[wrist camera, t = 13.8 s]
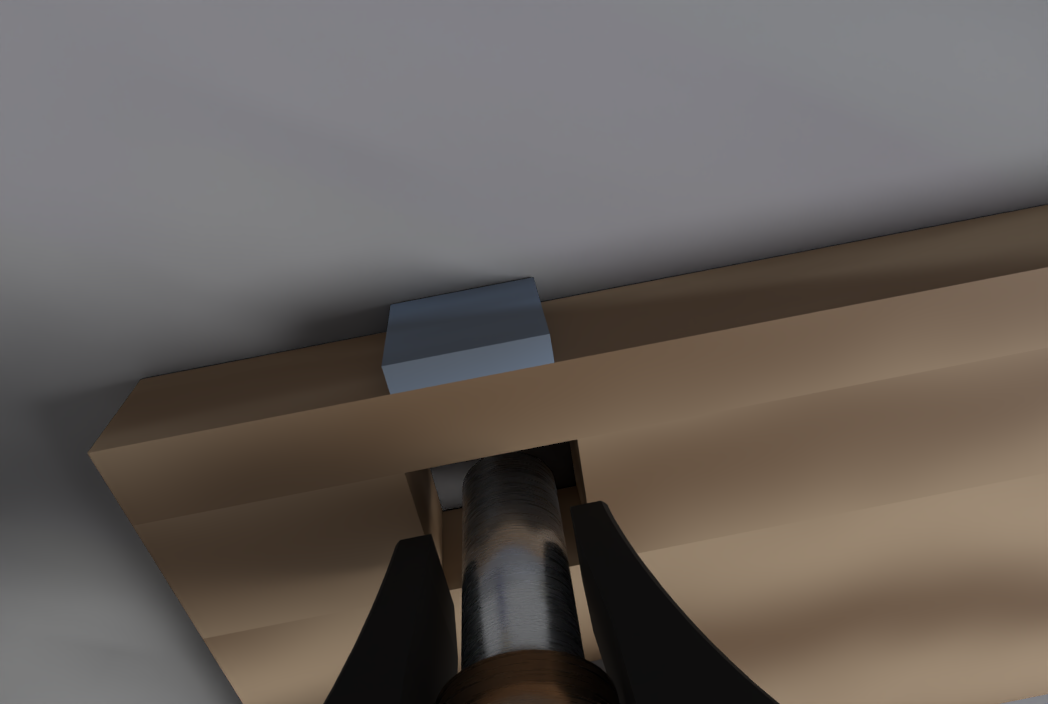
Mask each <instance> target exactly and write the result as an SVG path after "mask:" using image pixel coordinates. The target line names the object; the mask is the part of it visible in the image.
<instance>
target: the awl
mask: <svg viewBox="0 0 1048 704" xmlns="http://www.w3.org/2000/svg"><path fill="white" fill-rule="evenodd" d="M435 704H620V703H619V698H618V694H617V690H616V687H615V685H614V683H613V681H612V679H611V678H610V677H609V676H608V674H607V673H606V672H605V671H603V670H602V669H601V668H600V667H598V666H597V665H595V664H594V663H592V662H590V661H588V660H586V659H585V656H584V650H583V644H582V638H581V633H580V627H579V621H578V615H577V609H576V603H575V597H574V591H573V585H572V579H571V573H570V567H569V561H568V555H567V549H566V543H565V537H564V531H563V526H562V520H561V514H560V508H559V502H558V496H557V490H556V484H555V479H554V476H553V473H552V471H551V470H550V468H549V467H548V466H547V465H546V464H545V463H544V462H543V461H541V460H540V459H538V458H537V457H534V456H532V455H529V454H526V453H521V452H509V453H504V454H499V455H494V456H488V457H486V458H484V459H482V460H480V461H479V462H477V463H476V464H475V465H474V466H473V467H472V468H471V469H470V470H469V472H468V473H467V475H466V477H465V479H464V482H463V501H462V618H461V671H460V672H459V673H457V674H456V675H455V676H454V677H453V678H451V679H450V680H449V681H448V682H447V683H446V685H445V686H444V687H443V688H442V690H441V691H440V693H439V695H438V697H437V699H436V702H435Z"/></svg>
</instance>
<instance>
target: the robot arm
mask: <svg viewBox="0 0 1048 704" xmlns="http://www.w3.org/2000/svg"><path fill="white" fill-rule="evenodd" d="M570 512H571V518H572V524H573V530H574V535H575V541H576V547H577V553H578V559H579V565H580V571H581V576H582V582H583V587H584V591H585V596H586V600H587V605H588V610H589V614H590V619H591V623H592V628H593V632H594V635H595V639H596V642H597V645H598V648H599V651H600V654H601V658H602V661H603V664H604V667H605V670H606V673H607V674H608V676H609V677H610V678H611V679H612V681H613V683H614V685H615V687H616V690H617V694H618V698H619V703H620V704H780V703H778V702H777V701H776V700H775V699H774V698H772V697H771V696H770V695H769V694H768V693H766V692H765V691H764V690H763V689H762V688H760V687H759V686H758V685H757V684H756V683H755V682H753V681H752V680H751V679H750V678H749V677H748V676H747V675H746V674H745V673H744V672H743V671H742V670H740V669H739V668H738V667H737V666H736V665H735V664H734V663H733V662H732V661H731V660H730V659H729V658H728V657H727V656H726V655H725V654H724V653H723V652H722V651H721V650H720V649H719V648H718V647H716V646H715V645H714V644H713V643H712V642H711V641H710V640H709V638H708V637H707V636H706V635H705V634H704V633H703V632H702V631H701V630H700V629H699V628H698V627H697V626H696V625H695V624H694V623H693V621H692V620H691V619H690V618H689V617H688V616H687V615H686V614H685V613H684V611H683V610H682V609H681V608H680V607H679V606H678V605H677V603H676V602H675V601H674V600H673V599H672V598H671V596H670V595H669V594H668V593H667V592H666V590H665V589H664V588H663V587H662V585H661V584H660V583H659V582H658V580H657V579H656V578H655V576H654V575H653V574H652V573H651V571H650V570H649V569H648V567H647V566H646V565H645V564H644V562H643V561H642V560H641V558H640V557H639V555H638V554H637V553H636V551H635V550H634V548H633V547H632V545H631V544H630V542H629V541H628V539H627V538H626V536H625V535H624V533H623V532H622V530H621V529H620V527H619V525H618V524H617V522H616V520H615V518H614V516H613V515H612V513H611V511H610V509H609V507H608V504H606V503H605V502H603V501H596V502H591V503H586V504H581V505H576V506H571V507H570ZM457 673H458V649H457V634H456V622H455V609H454V603H453V600H452V597H451V594H450V591H449V588H448V584H447V581H446V578H445V575H444V572H443V569H442V566H441V562H440V559H439V556H438V553H437V550H436V547H435V544H434V540H433V537H432V534H428V535H423V536H417V537H412V538H407V539H402V540H400V541H399V542H398V543H397V544H396V546H395V549H394V552H393V554H392V557H391V560H390V563H389V566H388V568H387V571H386V574H385V576H384V579H383V581H382V584H381V586H380V589H379V591H378V593H377V596H376V598H375V601H374V603H373V605H372V608H371V610H370V612H369V614H368V616H367V619H366V621H365V623H364V625H363V627H362V630H361V632H360V634H359V636H358V638H357V640H356V643H355V645H354V647H353V649H352V651H351V653H350V654H349V656H348V658H347V660H346V662H345V664H344V666H343V668H342V670H341V672H340V674H339V676H338V678H337V680H336V682H335V683H334V685H333V687H332V689H331V691H330V693H329V694H328V696H327V698H326V700H325V701H324V703H323V704H435V702H436V699H437V697H438V695H439V693H440V691H441V690H442V688H443V687H444V686H445V685H446V683H447V682H448V681H449V680H450V679H451V678H453V677H454V676H455V675H456V674H457Z"/></svg>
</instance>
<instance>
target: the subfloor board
mask: <svg viewBox="0 0 1048 704" xmlns="http://www.w3.org/2000/svg"><path fill="white" fill-rule="evenodd" d="M565 441H569V442H570V448H571V454H572V461H573V467H574V473H575V479H576V486H573V487H568V488H563V489H557V496H558V502H559V508H560V514H561V520H562V526H563V531H564V537H565V543H566V549H567V555H568V561H569V567H570V573H571V579H572V585H573V591H574V597H575V603H576V609H577V615H578V621H579V627H580V633H581V638H582V644H583V650H584V656H585V659H586V660H588V661H596V660H601V659H602V658H601V654H600V651H599V648H598V645H597V642H596V639H595V635H594V632H593V628H592V623H591V619H590V614H589V610H588V605H587V600H586V596H585V591H584V587H583V582H582V576H581V571H580V565H579V559H578V553H577V547H576V541H575V535H574V530H573V524H572V518H571V512H570V507H571V506H576V505H581V504H586V503H591V502H596V501H603V502H605V503H606V504H608V507H609V509H610V511H611V513H612V515H613V516H614V518H615V520H616V522H617V524H618V525H619V527H620V529H621V530H622V532H623V533H624V535H625V536H626V538H627V539H628V541H629V542H630V544H631V545H632V547H633V548H634V550H635V551H636V553H637V554H638V555H639V557H640V558H641V560H642V561H643V562H644V564H645V565H646V566H647V567H648V569H649V570H650V571H651V573H652V574H653V575H654V576H655V578H656V579H657V580H658V582H659V583H660V584H661V585H662V587H663V588H664V589H665V590H666V592H667V593H668V594H669V595H670V596H671V598H672V599H673V600H674V601H675V602H676V603H677V605H678V606H679V607H680V608H681V609H682V610H683V611H684V613H685V614H686V615H687V616H688V617H689V618H690V619H691V620H692V621H693V623H694V624H695V625H696V626H697V627H698V628H699V629H700V630H701V631H702V632H703V633H704V634H705V635H706V636H707V637H708V638H709V640H710V641H711V642H712V643H713V644H714V645H715V646H716V647H718V648H719V649H720V650H721V651H722V652H723V653H724V654H725V655H726V656H727V657H728V658H729V659H730V660H731V661H732V662H733V663H734V664H735V665H736V666H737V667H738V668H739V669H740V670H742V671H743V672H744V673H745V674H746V675H747V676H748V677H749V678H750V679H751V680H752V681H753V682H755V683H756V684H757V685H758V686H759V687H760V688H762V689H763V690H764V691H765V692H766V693H768V694H769V695H770V696H771V697H772V698H774V699H775V700H776V701H777V702H778V703H780V704H1000V703H1005V702H1010V701H1015V700H1020V699H1025V698H1030V697H1035V696H1040V695H1045V694H1048V205H1044V206H1038V207H1033V208H1028V209H1023V210H1018V211H1012V212H1007V213H1002V214H997V215H992V216H987V217H981V218H976V219H971V220H966V221H961V222H955V223H950V224H945V225H940V226H935V227H929V228H924V229H919V230H914V231H909V232H903V233H898V234H893V235H888V236H883V237H877V238H872V239H867V240H862V241H857V242H852V243H846V244H841V245H836V246H831V247H826V248H820V249H815V250H810V251H805V252H800V253H794V254H789V255H784V256H779V257H774V258H768V259H763V260H758V261H753V262H748V263H742V264H737V265H732V266H727V267H722V268H716V269H711V270H706V271H701V272H696V273H691V274H685V275H680V276H675V277H670V278H665V279H659V280H654V281H649V282H644V283H639V284H633V285H628V286H623V287H618V288H613V289H607V290H602V291H597V292H592V293H587V294H581V295H576V296H571V297H566V298H561V299H556V300H550V301H545V302H540V299H539V295H538V292H537V288H536V285H535V281H534V278H533V277H532V278H527V279H522V280H517V281H511V282H506V283H501V284H496V285H491V286H485V287H480V288H475V289H470V290H465V291H459V292H454V293H449V294H444V295H438V296H433V297H428V298H423V299H418V300H412V301H407V302H402V303H397V304H392V305H391V307H390V313H389V320H388V327H387V332H384V333H379V334H374V335H369V336H363V337H358V338H353V339H348V340H343V341H337V342H332V343H327V344H322V345H317V346H311V347H306V348H301V349H296V350H291V351H285V352H280V353H275V354H270V355H265V356H260V357H254V358H249V359H244V360H239V361H234V362H228V363H223V364H218V365H213V366H208V367H202V368H197V369H192V370H187V371H182V372H176V373H171V374H166V375H161V376H156V377H150V378H145V379H141V380H140V381H139V383H138V384H137V385H136V387H135V388H134V390H133V391H132V392H131V394H130V395H129V396H128V398H127V399H126V401H125V402H124V403H123V405H122V406H121V407H120V409H119V410H118V412H117V413H116V414H115V416H114V417H113V418H112V420H111V421H110V423H109V424H108V425H107V427H106V428H105V429H104V431H103V432H102V434H101V435H100V436H99V438H98V439H97V440H96V442H95V443H94V445H93V446H92V447H91V449H90V450H89V451H88V455H89V457H90V458H91V460H92V461H93V463H94V465H95V466H96V468H97V469H98V471H99V473H100V474H101V476H102V477H103V479H104V481H105V482H106V484H107V486H108V487H109V489H110V490H111V492H112V494H113V495H114V497H115V498H116V500H117V502H118V503H119V505H120V506H121V508H122V510H123V511H124V513H125V515H126V516H127V518H128V519H129V521H130V523H131V524H132V526H133V527H134V529H135V531H136V532H137V534H138V535H139V537H140V539H141V540H142V542H143V543H144V545H145V547H146V548H147V550H148V552H149V553H150V555H151V556H152V558H153V560H154V561H155V563H156V564H157V566H158V568H159V569H160V571H161V572H162V574H163V576H164V577H165V579H166V581H167V582H168V584H169V585H170V587H171V589H172V590H173V592H174V593H175V595H176V597H177V598H178V600H179V601H180V603H181V605H182V606H183V608H184V610H185V611H186V613H187V614H188V616H189V618H190V619H191V621H192V622H193V624H194V626H195V627H196V629H197V630H198V632H199V634H200V635H201V637H202V638H203V640H204V642H205V643H206V645H207V647H208V648H209V650H210V651H211V653H212V655H213V656H214V658H215V659H216V661H217V663H218V664H219V666H220V667H221V669H222V671H223V672H224V674H225V676H226V677H227V679H228V680H229V682H230V684H231V685H232V687H233V688H234V690H235V692H236V693H237V695H238V696H239V698H240V700H241V701H242V703H243V704H323V703H324V701H325V700H326V698H327V696H328V694H329V693H330V691H331V689H332V687H333V685H334V683H335V682H336V680H337V678H338V676H339V674H340V672H341V670H342V668H343V666H344V664H345V662H346V660H347V658H348V656H349V654H350V653H351V651H352V649H353V647H354V645H355V643H356V640H357V638H358V636H359V634H360V632H361V630H362V627H363V625H364V623H365V621H366V619H367V616H368V614H369V612H370V610H371V608H372V605H373V603H374V601H375V598H376V596H377V593H378V591H379V589H380V586H381V584H382V581H383V579H384V576H385V574H386V571H387V568H388V566H389V563H390V560H391V557H392V554H393V552H394V549H395V546H396V544H397V543H398V542H399V541H400V540H402V539H407V538H412V537H417V536H423V535H428V534H432V537H433V540H434V544H435V547H436V550H437V553H438V556H439V559H440V562H441V566H442V569H443V572H444V575H445V578H446V581H447V584H448V588H449V591H450V594H451V597H452V600H453V603H454V609H455V622H456V634H457V649H458V673H459V672H460V671H461V618H462V508H460V509H455V510H450V511H445V512H443V511H442V508H441V504H440V501H439V498H438V494H437V491H436V487H435V484H434V481H433V477H432V474H431V471H430V468H432V467H437V466H442V465H447V464H452V463H458V462H463V461H468V460H473V459H478V458H483V457H488V456H494V455H499V454H504V453H509V452H514V451H519V450H524V449H530V448H535V447H540V446H545V445H550V444H555V443H560V442H565Z"/></svg>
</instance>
